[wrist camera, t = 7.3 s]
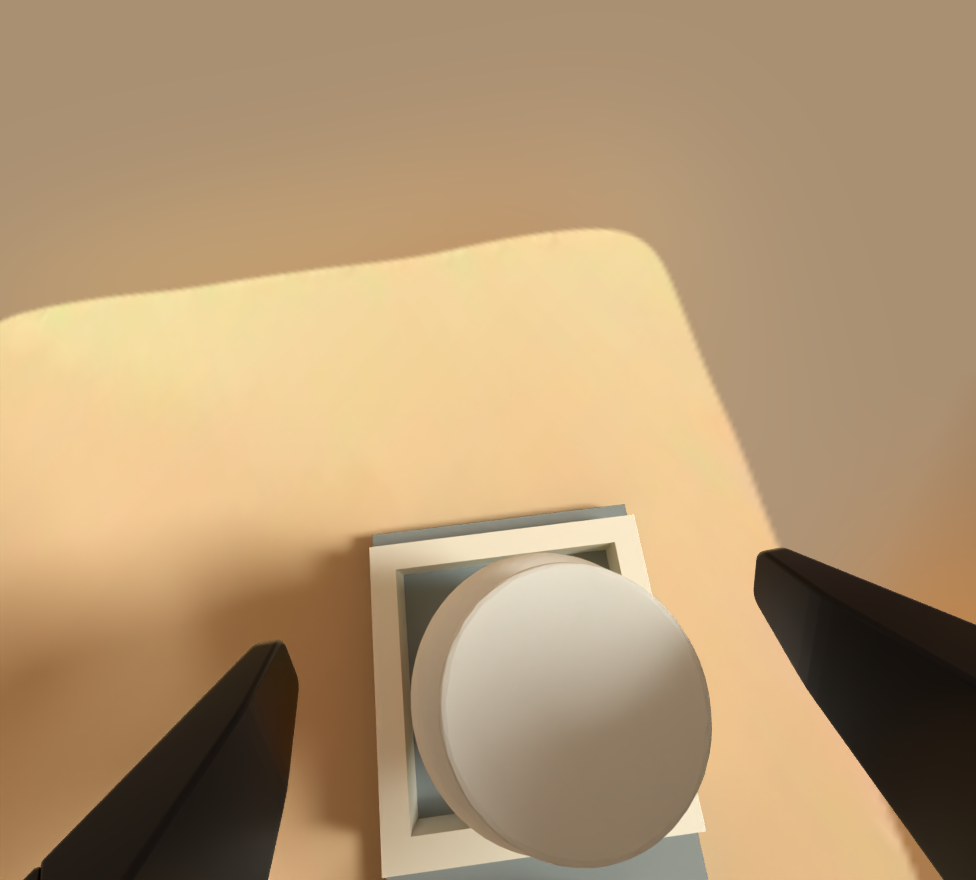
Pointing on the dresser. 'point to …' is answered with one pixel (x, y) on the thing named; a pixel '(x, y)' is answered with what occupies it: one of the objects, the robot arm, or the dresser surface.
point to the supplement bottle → (561, 710)
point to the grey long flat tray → (396, 639)
